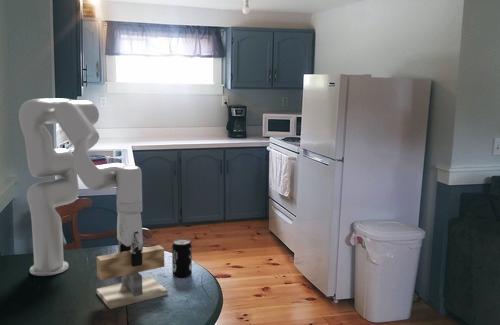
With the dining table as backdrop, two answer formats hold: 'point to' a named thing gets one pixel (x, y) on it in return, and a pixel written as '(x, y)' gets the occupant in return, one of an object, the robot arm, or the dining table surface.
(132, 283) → the ridge stand
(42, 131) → the robot arm
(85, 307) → the dining table surface
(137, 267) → the oak beam
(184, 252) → the beverage can
